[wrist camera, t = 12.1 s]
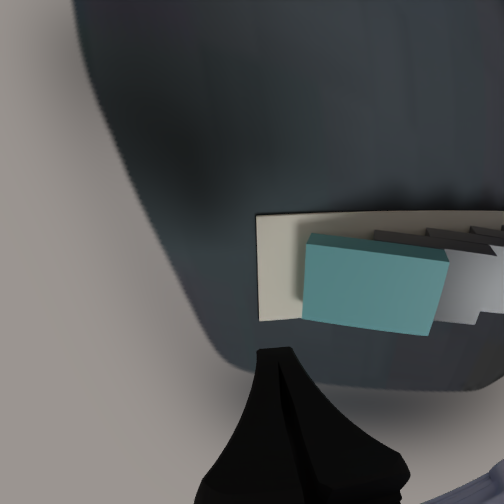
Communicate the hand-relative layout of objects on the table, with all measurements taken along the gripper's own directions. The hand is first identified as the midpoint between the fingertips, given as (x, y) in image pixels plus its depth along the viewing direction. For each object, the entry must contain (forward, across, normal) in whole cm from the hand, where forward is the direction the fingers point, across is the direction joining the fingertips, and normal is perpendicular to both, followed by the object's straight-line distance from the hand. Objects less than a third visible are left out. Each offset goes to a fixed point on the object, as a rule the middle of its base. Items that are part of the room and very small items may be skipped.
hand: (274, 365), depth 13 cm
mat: (+8, -10, 0) cm, 13 cm away
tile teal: (+7, -3, 0) cm, 8 cm away
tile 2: (+7, -7, 0) cm, 10 cm away
